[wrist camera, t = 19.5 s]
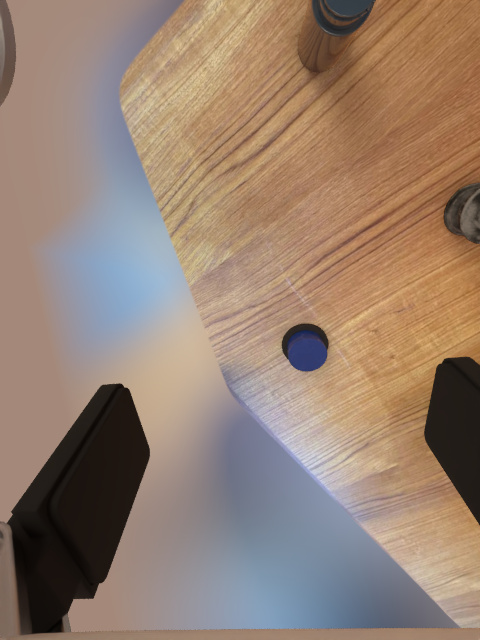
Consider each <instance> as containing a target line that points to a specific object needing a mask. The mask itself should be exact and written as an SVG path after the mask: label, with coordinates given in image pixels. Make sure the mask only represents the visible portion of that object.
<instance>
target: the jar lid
mask: <svg viewBox="0 0 480 640" xmlns="http://www.w3.org/2000/svg"><path fill="white" fill-rule="evenodd" d="M287 352H288V358H289V361H290V363H291V365H292V366H293V367H294V368H296V369H298V370H300V371H313V370H316V369H318V368H319V367H321V366H322V365H323V364H324V363H325V361H326V358H327V349H326V347H325V344H324V342H323V339H322V338H321V336H320V335H319V334H317V333H315V332H313V331H308V330H304V331H300V332H297V333H295V334H294V335H293V336H291V338H290V339H289V341H288V343H287Z"/></svg>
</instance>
